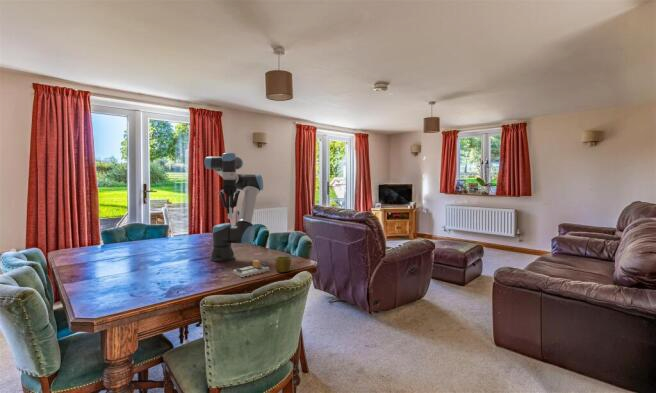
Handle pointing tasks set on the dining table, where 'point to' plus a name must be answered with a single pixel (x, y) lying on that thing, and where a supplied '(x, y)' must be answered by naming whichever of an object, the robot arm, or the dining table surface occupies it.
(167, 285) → the dining table surface
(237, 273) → the console
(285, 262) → the mug
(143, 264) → the dining table surface
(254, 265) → the fader
